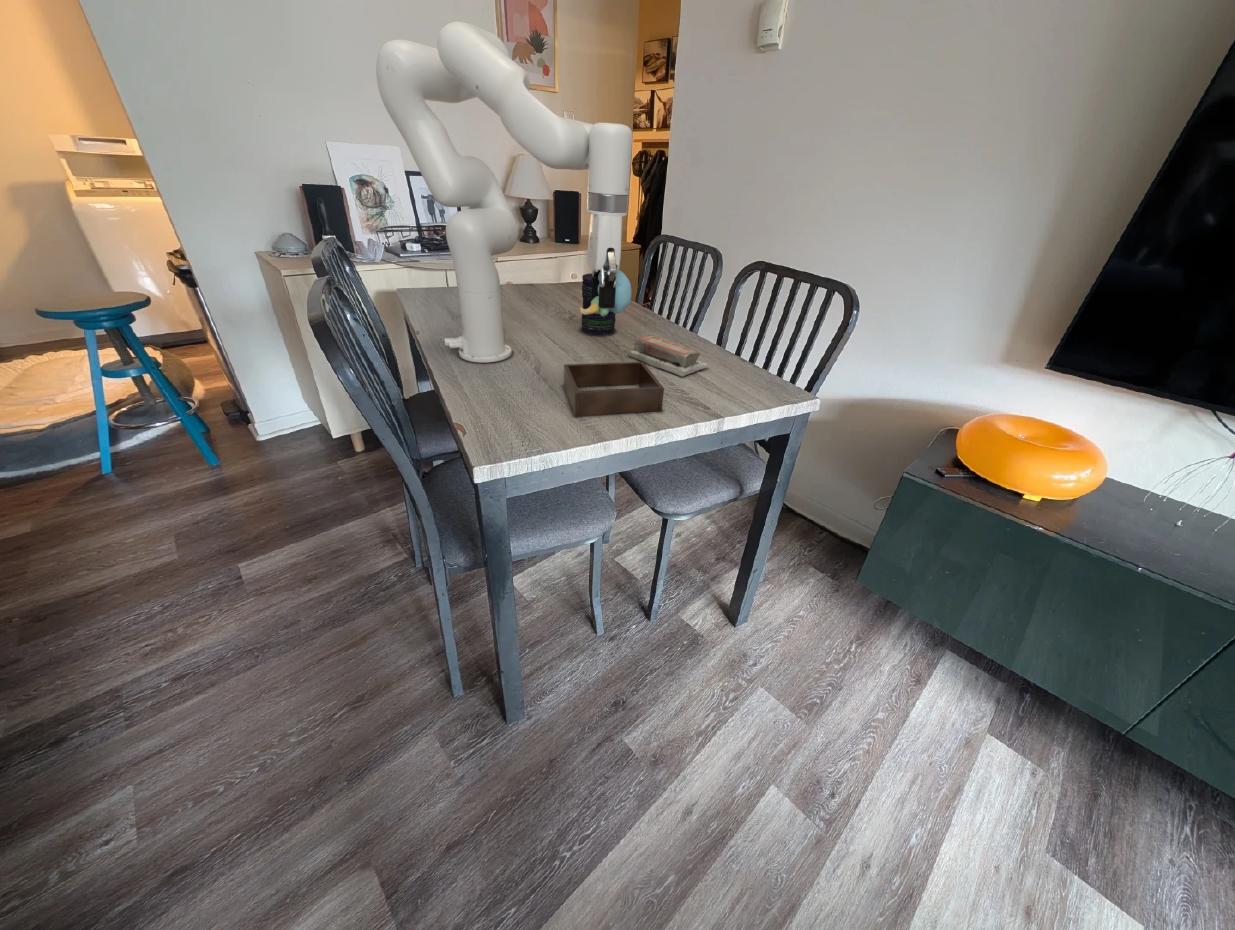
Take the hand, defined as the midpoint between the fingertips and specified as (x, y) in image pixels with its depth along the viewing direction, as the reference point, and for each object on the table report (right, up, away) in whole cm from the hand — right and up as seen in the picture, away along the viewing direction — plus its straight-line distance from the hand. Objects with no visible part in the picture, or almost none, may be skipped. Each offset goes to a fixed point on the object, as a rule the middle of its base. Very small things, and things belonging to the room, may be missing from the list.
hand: (602, 301), depth 97 cm
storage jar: (-3, +5, +41) cm, 41 cm away
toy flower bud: (0, -3, +1) cm, 3 cm away
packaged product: (+15, -8, +21) cm, 28 cm away
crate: (+2, -20, +2) cm, 20 cm away
